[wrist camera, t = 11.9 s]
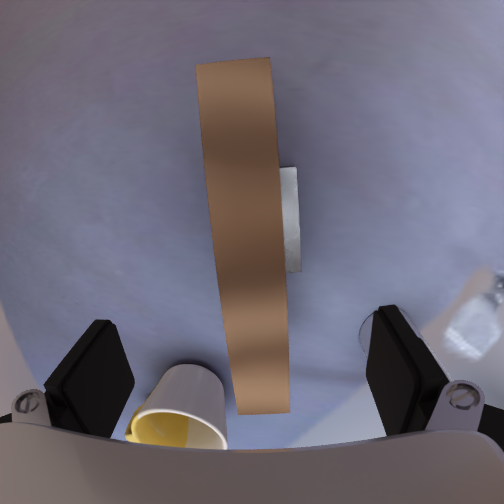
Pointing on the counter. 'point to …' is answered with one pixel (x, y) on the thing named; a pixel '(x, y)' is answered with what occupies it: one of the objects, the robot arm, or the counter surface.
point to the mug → (182, 411)
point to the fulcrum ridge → (290, 218)
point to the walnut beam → (247, 227)
